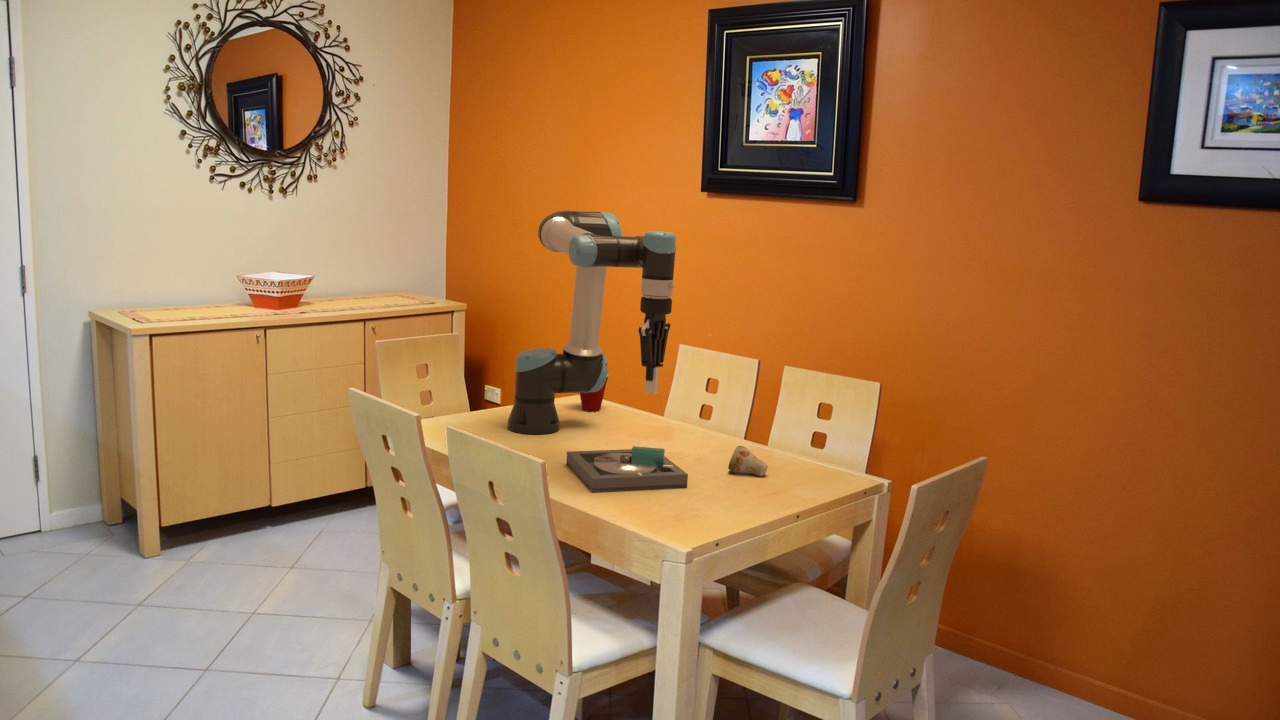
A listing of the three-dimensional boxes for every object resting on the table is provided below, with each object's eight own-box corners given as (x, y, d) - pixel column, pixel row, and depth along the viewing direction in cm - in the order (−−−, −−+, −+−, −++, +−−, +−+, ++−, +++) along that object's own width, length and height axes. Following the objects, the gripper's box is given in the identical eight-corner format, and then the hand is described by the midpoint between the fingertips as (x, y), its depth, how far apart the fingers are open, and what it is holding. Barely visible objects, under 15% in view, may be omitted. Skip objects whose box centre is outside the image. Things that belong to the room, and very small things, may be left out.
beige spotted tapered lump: (766, 481, 246) (749, 447, 245) (734, 490, 252) (717, 457, 250) (775, 467, 253) (758, 434, 251) (744, 477, 258) (727, 444, 256)
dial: (588, 477, 236) (589, 452, 235) (598, 460, 252) (599, 436, 251) (660, 483, 234) (661, 458, 233) (665, 465, 250) (667, 441, 249)
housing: (566, 464, 251) (567, 450, 250) (653, 460, 259) (654, 446, 258) (592, 492, 228) (593, 477, 228) (687, 487, 236) (688, 472, 236)
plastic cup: (601, 405, 321) (602, 370, 319) (612, 413, 311) (614, 376, 309) (569, 406, 317) (571, 370, 315) (580, 414, 307) (581, 377, 305)
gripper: (658, 300, 224) (652, 400, 228) (682, 296, 235) (676, 391, 239) (630, 297, 227) (624, 395, 231) (654, 293, 239) (648, 386, 243)
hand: (650, 393), depth 235 cm, fingers closed
